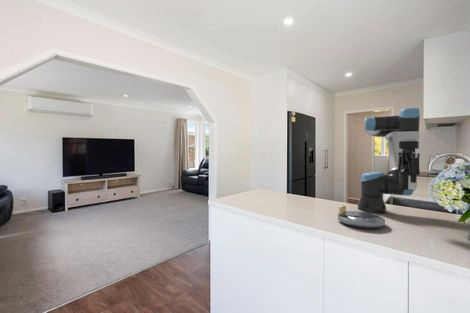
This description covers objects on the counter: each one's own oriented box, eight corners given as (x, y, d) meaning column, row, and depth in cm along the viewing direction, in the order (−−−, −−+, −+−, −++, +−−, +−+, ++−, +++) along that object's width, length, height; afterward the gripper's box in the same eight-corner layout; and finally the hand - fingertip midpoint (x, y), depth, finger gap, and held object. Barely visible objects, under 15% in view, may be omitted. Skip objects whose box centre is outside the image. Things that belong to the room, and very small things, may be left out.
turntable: (374, 215, 122) (375, 203, 122) (393, 229, 102) (393, 214, 101) (333, 213, 126) (333, 201, 126) (343, 226, 106) (343, 211, 106)
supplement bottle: (417, 190, 104) (418, 165, 104) (399, 189, 108) (400, 164, 107) (415, 188, 110) (415, 164, 110) (398, 187, 114) (398, 163, 113)
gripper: (390, 141, 118) (389, 184, 119) (411, 140, 99) (410, 191, 100) (406, 141, 117) (405, 184, 118) (431, 140, 98) (429, 192, 99)
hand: (407, 187), depth 109 cm, fingers closed on supplement bottle, 7 cm apart
